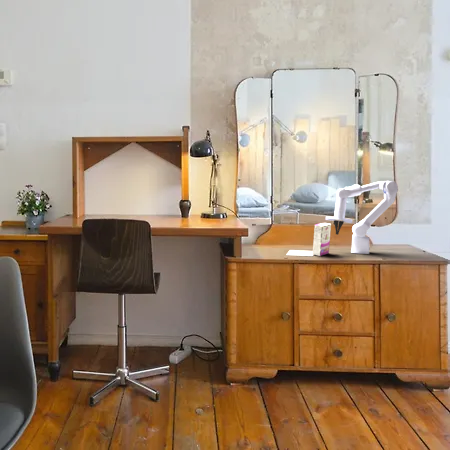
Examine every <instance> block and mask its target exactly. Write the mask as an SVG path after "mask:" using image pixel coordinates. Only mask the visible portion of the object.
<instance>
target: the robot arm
mask: <svg viewBox="0 0 450 450" xmlns="http://www.w3.org/2000/svg"><path fill="white" fill-rule="evenodd" d="M398 187H399V186H398V183H397V182H396V181H394V180H384V181H382V180H381V181H376V182H372V183H369V184H364V185H362V186H361V185H360V184H356V183H355V184H353V185H351V186H345V187H343V188H339V189H337V191H336V193H335V195H336V201H335V206H334V215H333V216H327V215H326V216H325V221H330V222H331V221H333V224H334V225H333V226H334V229H335V235H339V233H340V230H341V229H342V227H343V225H344V223H348V224H353V221H354V220H353V219H352V218H345V217H346V211H347V210H346V209H347V201H348V198H353V197H357V196H360V195H362V193H364V192H368V191H373V190H376V189H377V190H382V193H383V198H384V199H382V200H381V201H380V203H378V204H377V205H376V206H375V207H374V208H373V209H372V210H371V211H370V212H369V214H367V215H366V216H365V217H364V218H363V219H362V220H360V221H359V222H358V223H356V224H354V225H353V226H352V228H351V230H352V233H353V234H352V236H351V250H350V253H351V254H364V255H365V254H366V255H367V254H368V255H369V254H370V251H371V248H370V240H371V239H370V236H367V231H368V230H369V229H370V227H371V226H372V224H373V223H375V222H376V220H377V219H379V217H380V216H381V215H382V214H384V213H385V212H386V211H387V210H388V208H390V207H391V206H392V205H393V204H394V202H395V201H396V197H397V194H398V191H399V188H398Z"/></svg>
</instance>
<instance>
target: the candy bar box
mask: <svg viewBox="0 0 450 450" xmlns="http://www.w3.org/2000/svg"><path fill="white" fill-rule="evenodd" d="M313 228H314V230H313V232H314V233H313V242H312V243H313V244H312V251H313V256H318V257H322V256H324V255H327V254H329V253H330V241H331V240H330V239H331V230H332V223H327V222H322V223H317V224H314V227H313Z"/></svg>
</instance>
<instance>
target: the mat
mask: <svg viewBox="0 0 450 450" xmlns="http://www.w3.org/2000/svg"><path fill="white" fill-rule="evenodd" d="M285 256H291V257H292V256H293V257H294V256H295V257H314V255H313V250H297V249H296V250H295V249H289V251H288V252H287V253H286V255H285Z"/></svg>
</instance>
